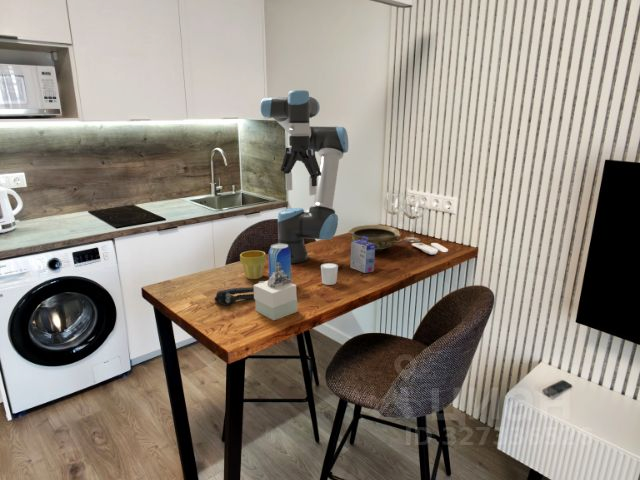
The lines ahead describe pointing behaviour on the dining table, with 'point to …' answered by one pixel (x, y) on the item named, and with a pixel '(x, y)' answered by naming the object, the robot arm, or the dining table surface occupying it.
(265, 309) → the tower bottom block
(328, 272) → the white gray-rimmed cylinder
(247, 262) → the plant pot
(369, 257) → the ink cartridge box
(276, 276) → the house of cards
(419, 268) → the dining table surface
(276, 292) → the tower top block
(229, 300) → the can opener
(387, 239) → the ceramic bowl
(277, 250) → the beer can
